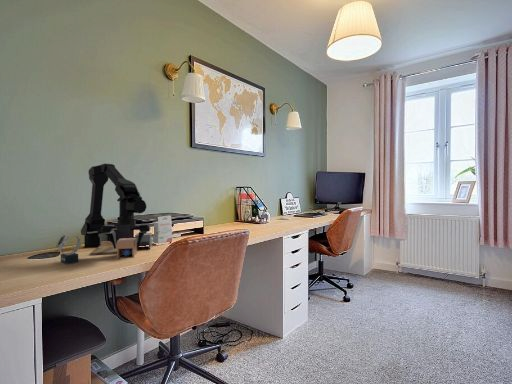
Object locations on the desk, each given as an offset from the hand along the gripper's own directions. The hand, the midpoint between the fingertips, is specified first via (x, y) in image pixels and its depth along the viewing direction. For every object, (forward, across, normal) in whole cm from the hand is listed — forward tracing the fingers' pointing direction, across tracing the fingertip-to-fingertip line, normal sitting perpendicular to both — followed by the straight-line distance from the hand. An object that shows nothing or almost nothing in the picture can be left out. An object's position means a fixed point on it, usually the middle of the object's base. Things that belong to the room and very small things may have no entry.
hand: (126, 248), depth 124 cm
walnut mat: (+3, -10, +10) cm, 14 cm away
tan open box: (+3, 0, 0) cm, 3 cm away
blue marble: (+2, 0, 0) cm, 2 cm away
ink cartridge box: (+4, +13, +24) cm, 27 cm away
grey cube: (+3, +5, +14) cm, 15 cm away
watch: (+4, -20, -6) cm, 21 cm away
